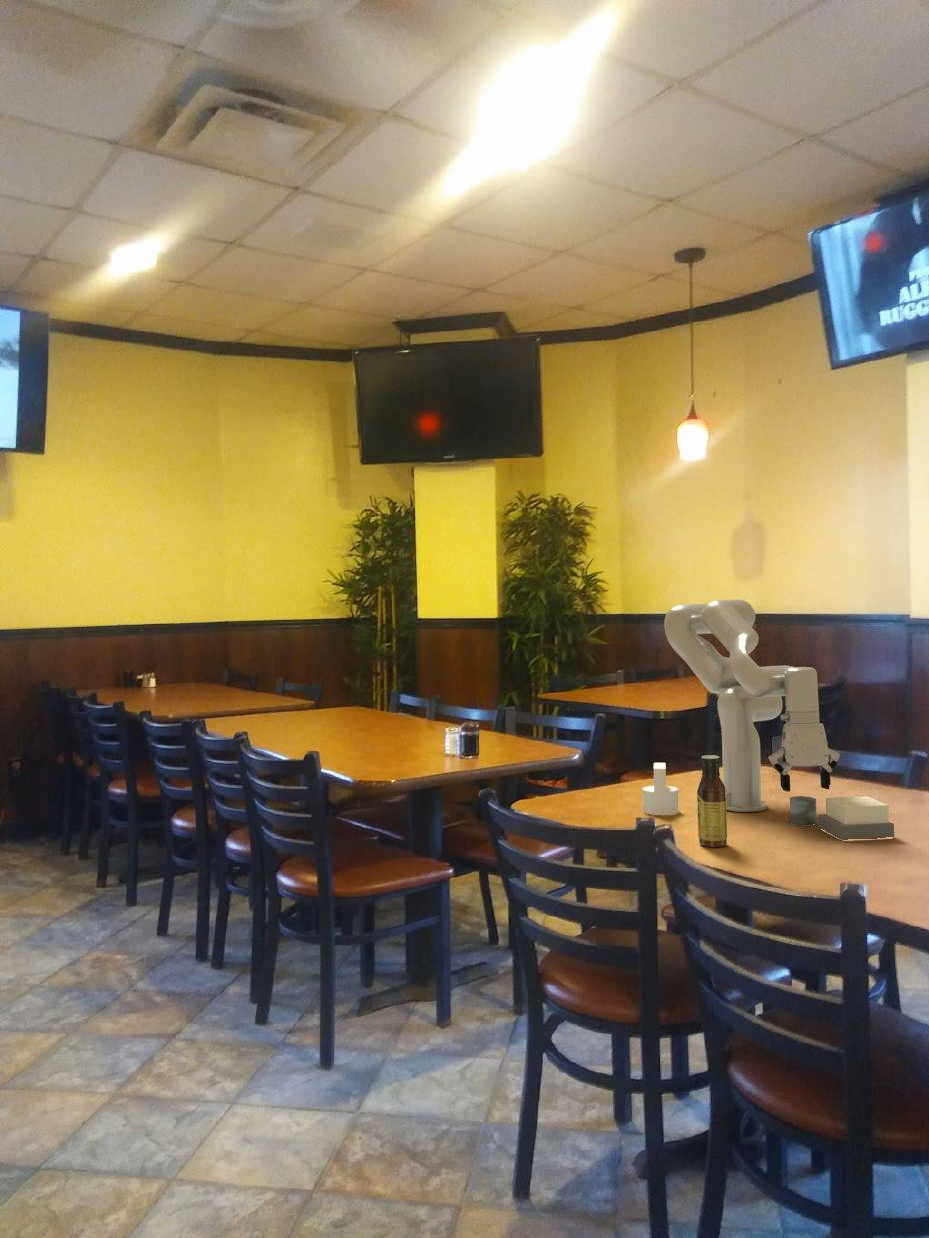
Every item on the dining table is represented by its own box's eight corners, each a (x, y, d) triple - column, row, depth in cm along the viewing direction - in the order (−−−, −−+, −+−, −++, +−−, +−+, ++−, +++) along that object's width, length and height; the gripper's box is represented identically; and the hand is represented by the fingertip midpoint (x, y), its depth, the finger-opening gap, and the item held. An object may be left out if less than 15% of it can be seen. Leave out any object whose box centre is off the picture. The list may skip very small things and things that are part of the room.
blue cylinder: (796, 826, 228) (796, 801, 228) (786, 821, 234) (785, 796, 234) (820, 825, 229) (820, 800, 229) (809, 820, 235) (809, 795, 235)
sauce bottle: (706, 839, 218) (704, 752, 218) (732, 843, 214) (730, 755, 214) (693, 846, 213) (691, 756, 213) (719, 850, 209) (717, 759, 209)
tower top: (845, 824, 215) (845, 806, 215) (826, 814, 225) (825, 797, 225) (888, 823, 216) (888, 805, 216) (867, 813, 226) (867, 796, 226)
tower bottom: (842, 844, 214) (842, 826, 214) (818, 831, 226) (818, 814, 226) (894, 841, 215) (893, 823, 215) (867, 829, 227) (867, 812, 227)
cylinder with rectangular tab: (678, 816, 242) (677, 768, 242) (642, 815, 244) (641, 768, 244) (678, 808, 251) (677, 762, 251) (643, 807, 253) (642, 762, 252)
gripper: (774, 721, 226) (777, 794, 226) (844, 718, 228) (847, 790, 228) (761, 718, 234) (764, 789, 234) (830, 715, 235) (833, 785, 235)
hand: (805, 789), depth 231 cm, fingers open, 9 cm apart
